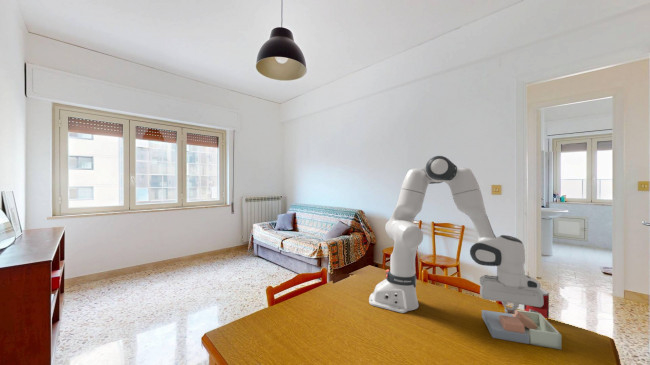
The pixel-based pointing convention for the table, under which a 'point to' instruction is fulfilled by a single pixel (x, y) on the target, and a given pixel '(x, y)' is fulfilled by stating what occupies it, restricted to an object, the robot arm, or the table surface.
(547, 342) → the bin
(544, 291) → the canned food
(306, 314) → the table surface
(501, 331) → the shallow grey tray
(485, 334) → the table surface
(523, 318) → the tile
